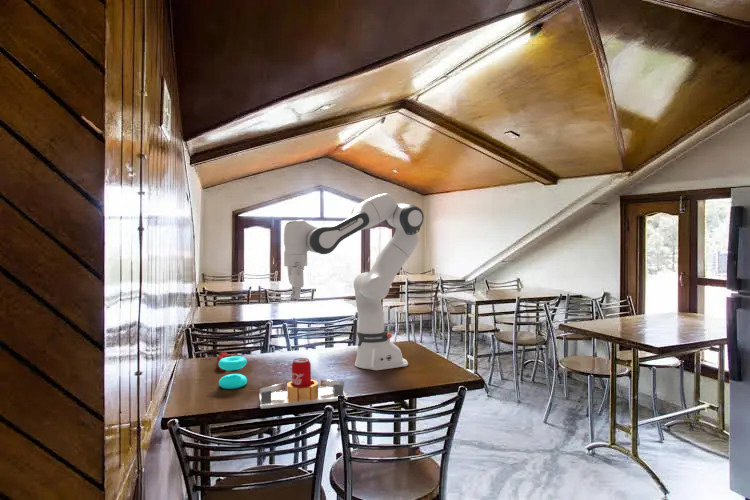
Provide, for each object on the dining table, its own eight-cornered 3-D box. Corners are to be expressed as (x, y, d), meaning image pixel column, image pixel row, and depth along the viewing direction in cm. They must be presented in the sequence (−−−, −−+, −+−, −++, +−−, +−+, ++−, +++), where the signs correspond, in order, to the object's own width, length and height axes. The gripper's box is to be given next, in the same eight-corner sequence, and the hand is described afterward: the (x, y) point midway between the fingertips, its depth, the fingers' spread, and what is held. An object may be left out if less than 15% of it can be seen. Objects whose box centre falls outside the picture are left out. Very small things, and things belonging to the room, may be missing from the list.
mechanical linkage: (239, 369, 196) (239, 357, 196) (221, 372, 192) (221, 360, 192) (230, 361, 210) (229, 350, 210) (213, 363, 206) (213, 352, 206)
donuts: (215, 362, 168) (221, 355, 178) (216, 390, 168) (221, 382, 178) (244, 361, 169) (248, 354, 179) (244, 389, 169) (248, 381, 179)
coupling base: (340, 388, 168) (340, 372, 168) (347, 399, 157) (347, 382, 156) (259, 396, 161) (258, 379, 161) (260, 408, 149) (259, 390, 149)
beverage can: (293, 392, 162) (292, 357, 161) (311, 392, 162) (311, 357, 162) (291, 398, 155) (290, 362, 155) (310, 398, 156) (309, 361, 156)
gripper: (307, 262, 174) (307, 300, 174) (301, 260, 194) (301, 294, 194) (289, 263, 172) (290, 300, 172) (285, 260, 192) (285, 294, 192)
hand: (296, 297), depth 183 cm, fingers open, 8 cm apart
